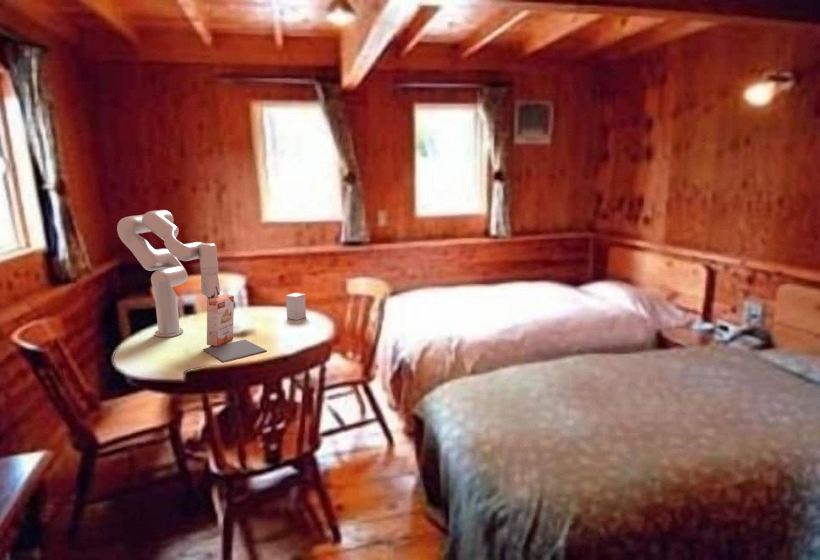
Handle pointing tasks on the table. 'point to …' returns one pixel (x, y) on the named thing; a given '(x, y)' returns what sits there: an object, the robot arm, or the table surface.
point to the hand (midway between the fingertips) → (212, 309)
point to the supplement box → (296, 306)
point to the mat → (234, 350)
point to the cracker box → (220, 319)
